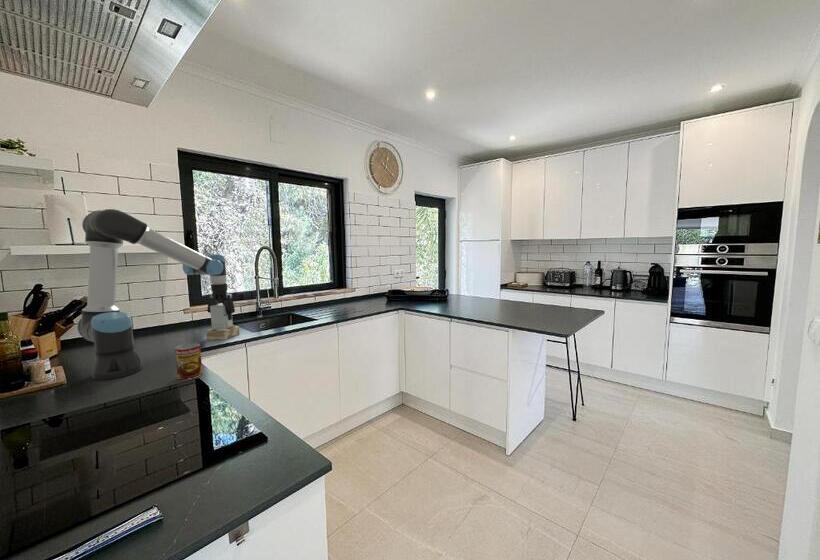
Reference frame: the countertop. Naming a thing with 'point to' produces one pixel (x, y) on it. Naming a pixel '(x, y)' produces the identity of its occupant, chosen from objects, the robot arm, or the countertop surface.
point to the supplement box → (219, 317)
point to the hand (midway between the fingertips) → (222, 325)
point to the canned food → (188, 360)
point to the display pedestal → (222, 333)
